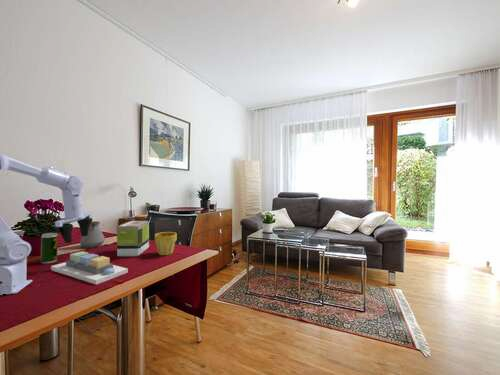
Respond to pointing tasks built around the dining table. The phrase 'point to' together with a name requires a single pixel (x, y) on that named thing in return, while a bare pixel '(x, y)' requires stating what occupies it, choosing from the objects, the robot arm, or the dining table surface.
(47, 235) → the beer can
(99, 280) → the white rectangular tray
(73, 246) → the dining table surface
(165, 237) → the plant pot
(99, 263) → the ochre button
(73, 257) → the sage button
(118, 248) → the tea box
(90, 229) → the coffee pot
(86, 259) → the blue button
